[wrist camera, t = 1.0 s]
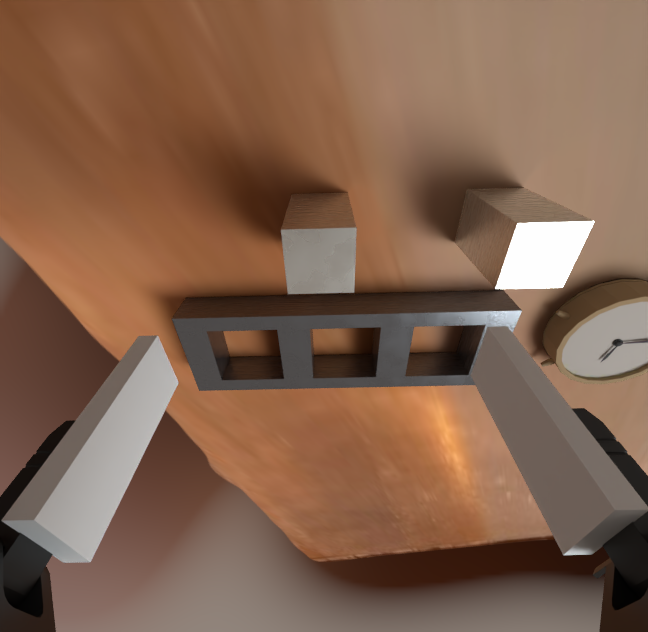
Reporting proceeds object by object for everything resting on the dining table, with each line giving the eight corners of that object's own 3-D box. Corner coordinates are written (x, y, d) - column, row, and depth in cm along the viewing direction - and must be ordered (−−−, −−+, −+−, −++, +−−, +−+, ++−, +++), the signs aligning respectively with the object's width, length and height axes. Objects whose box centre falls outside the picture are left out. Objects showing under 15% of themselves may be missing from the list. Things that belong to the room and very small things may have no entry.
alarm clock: (568, 304, 28) (791, 293, 24) (547, 276, 32) (737, 263, 28) (541, 387, 35) (715, 389, 31) (526, 356, 38) (679, 354, 35)
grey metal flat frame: (185, 297, 31) (171, 318, 28) (503, 290, 30) (521, 310, 28) (208, 367, 36) (199, 390, 33) (477, 361, 36) (491, 384, 33)
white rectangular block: (466, 189, 25) (517, 223, 18) (523, 187, 25) (594, 221, 18) (454, 242, 28) (495, 289, 21) (506, 241, 28) (562, 287, 21)
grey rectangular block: (291, 193, 25) (281, 229, 19) (347, 192, 25) (356, 227, 19) (296, 246, 28) (287, 294, 21) (346, 245, 28) (354, 292, 21)
